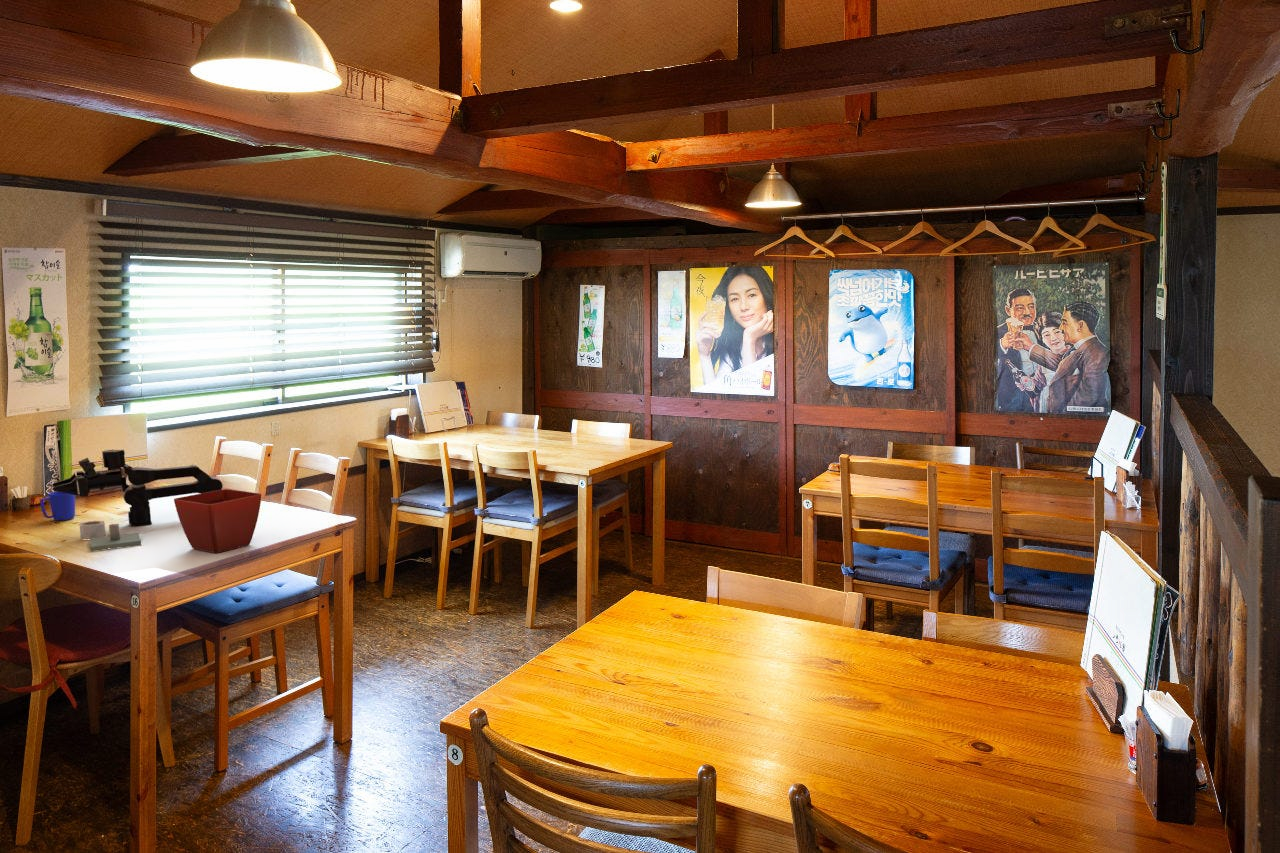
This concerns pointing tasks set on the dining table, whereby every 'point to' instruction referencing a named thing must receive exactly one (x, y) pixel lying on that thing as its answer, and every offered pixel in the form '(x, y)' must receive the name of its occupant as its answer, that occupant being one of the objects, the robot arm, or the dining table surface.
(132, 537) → the post stand
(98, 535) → the tan faceted hollow ring
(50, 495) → the mug
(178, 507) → the plant pot
